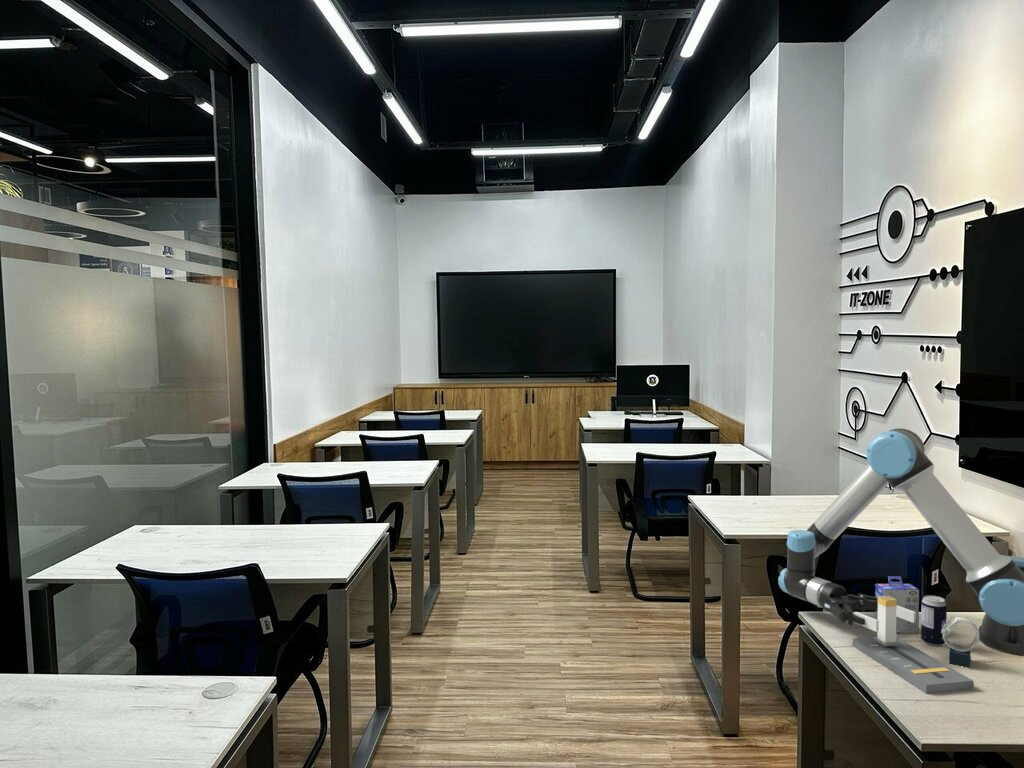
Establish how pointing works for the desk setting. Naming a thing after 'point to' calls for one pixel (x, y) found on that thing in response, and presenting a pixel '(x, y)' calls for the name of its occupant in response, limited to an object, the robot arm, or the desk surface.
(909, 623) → the ink cartridge box
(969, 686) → the fader console
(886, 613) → the fader handle
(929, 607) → the beverage can
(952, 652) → the watch
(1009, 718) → the desk surface
